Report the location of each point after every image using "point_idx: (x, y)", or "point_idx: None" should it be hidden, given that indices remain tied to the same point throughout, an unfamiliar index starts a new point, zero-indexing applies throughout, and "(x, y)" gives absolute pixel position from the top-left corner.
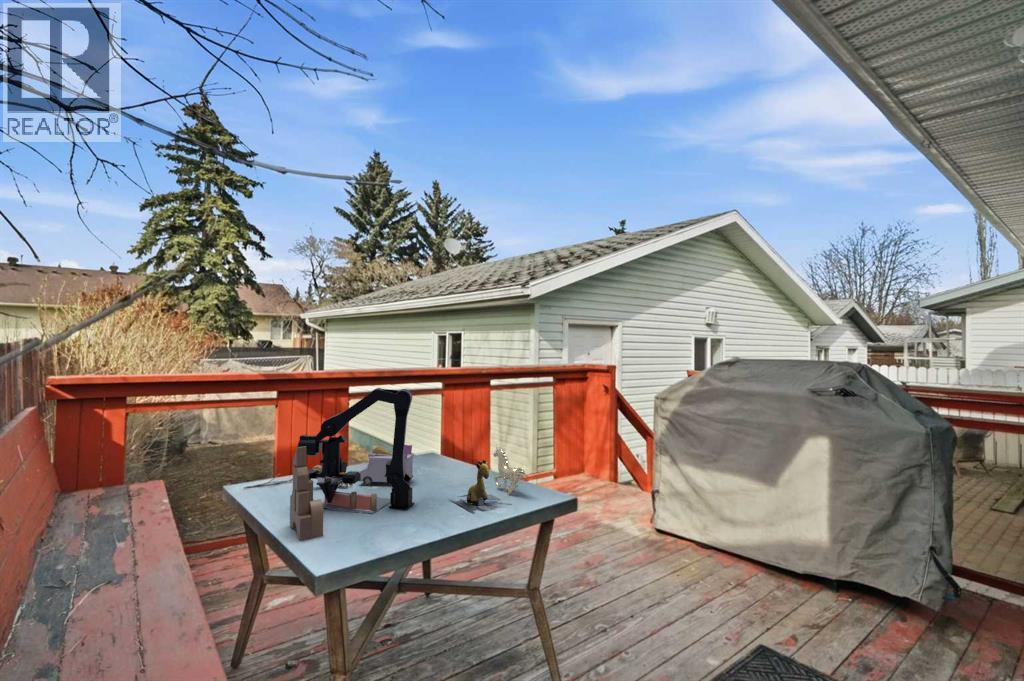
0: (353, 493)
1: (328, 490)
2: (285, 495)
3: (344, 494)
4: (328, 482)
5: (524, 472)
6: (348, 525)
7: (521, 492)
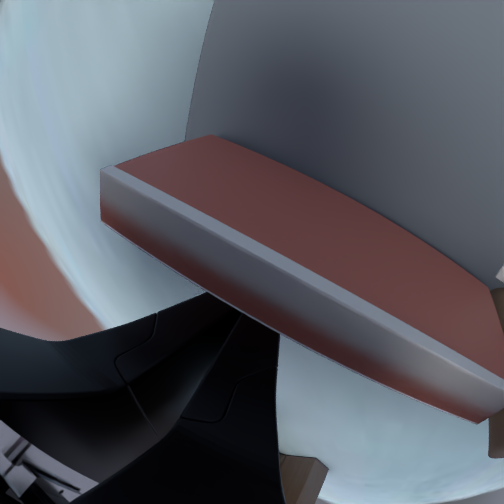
0: (500, 454)
1: (179, 403)
2: (21, 46)
3: (428, 398)
4: (91, 465)
5: None
6: (410, 453)
7: None
